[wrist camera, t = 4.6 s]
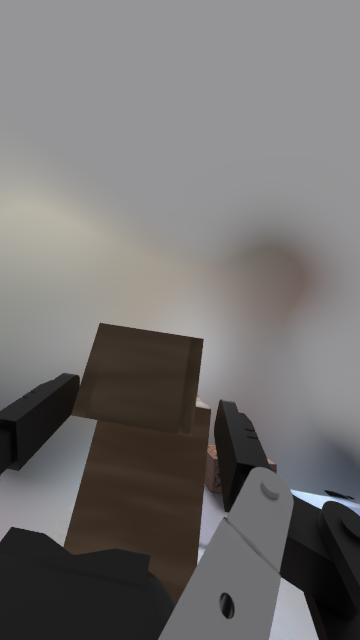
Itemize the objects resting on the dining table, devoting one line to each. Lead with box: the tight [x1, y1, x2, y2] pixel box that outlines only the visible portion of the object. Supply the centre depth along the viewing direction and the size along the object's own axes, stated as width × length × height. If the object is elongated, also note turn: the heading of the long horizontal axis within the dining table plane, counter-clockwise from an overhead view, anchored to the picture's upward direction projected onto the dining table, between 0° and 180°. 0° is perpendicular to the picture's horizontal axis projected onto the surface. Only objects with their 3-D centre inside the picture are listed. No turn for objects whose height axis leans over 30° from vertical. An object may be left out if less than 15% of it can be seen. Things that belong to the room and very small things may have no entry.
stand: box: [63, 397, 211, 604], centre depth 18 cm, size 14×10×32 cm
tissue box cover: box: [205, 445, 277, 493], centre depth 72 cm, size 26×14×10 cm, turn 104°
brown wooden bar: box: [71, 323, 204, 437], centre depth 20 cm, size 26×5×4 cm, turn 1°
